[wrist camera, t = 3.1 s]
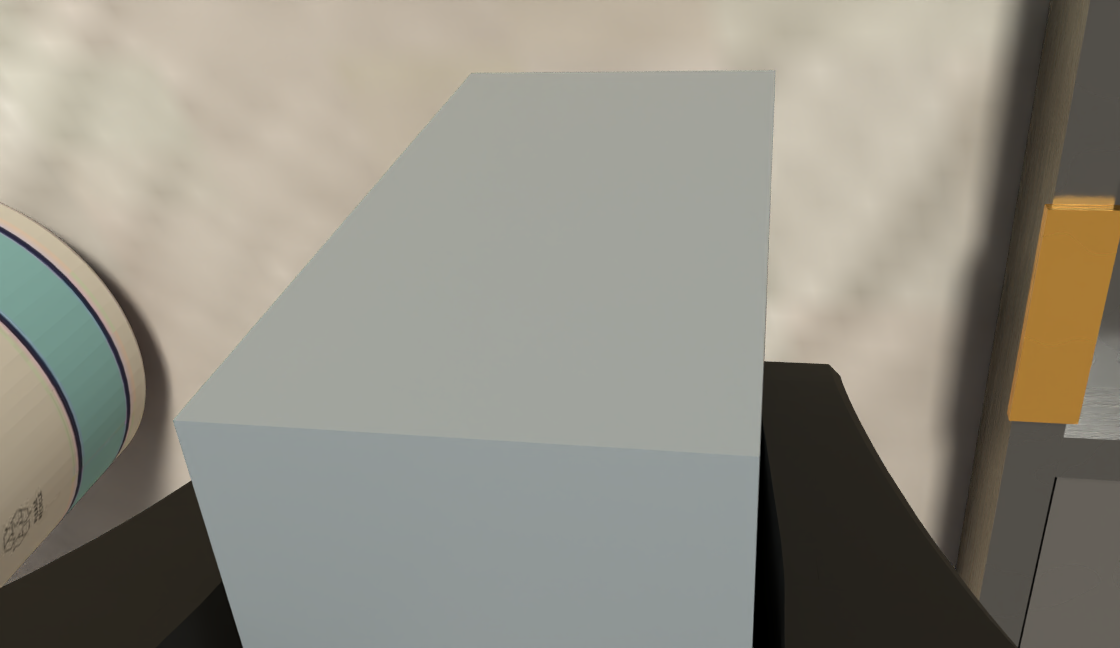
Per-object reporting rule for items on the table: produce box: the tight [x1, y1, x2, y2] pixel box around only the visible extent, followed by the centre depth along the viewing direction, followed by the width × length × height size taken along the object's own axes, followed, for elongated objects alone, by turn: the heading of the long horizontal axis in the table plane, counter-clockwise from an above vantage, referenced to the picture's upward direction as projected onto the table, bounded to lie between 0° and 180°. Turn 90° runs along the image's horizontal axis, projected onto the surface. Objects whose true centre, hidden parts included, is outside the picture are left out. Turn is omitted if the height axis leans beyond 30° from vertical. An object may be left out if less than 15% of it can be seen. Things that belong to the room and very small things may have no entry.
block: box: [173, 70, 775, 648], centre depth 9 cm, size 6×3×6 cm, turn 4°
